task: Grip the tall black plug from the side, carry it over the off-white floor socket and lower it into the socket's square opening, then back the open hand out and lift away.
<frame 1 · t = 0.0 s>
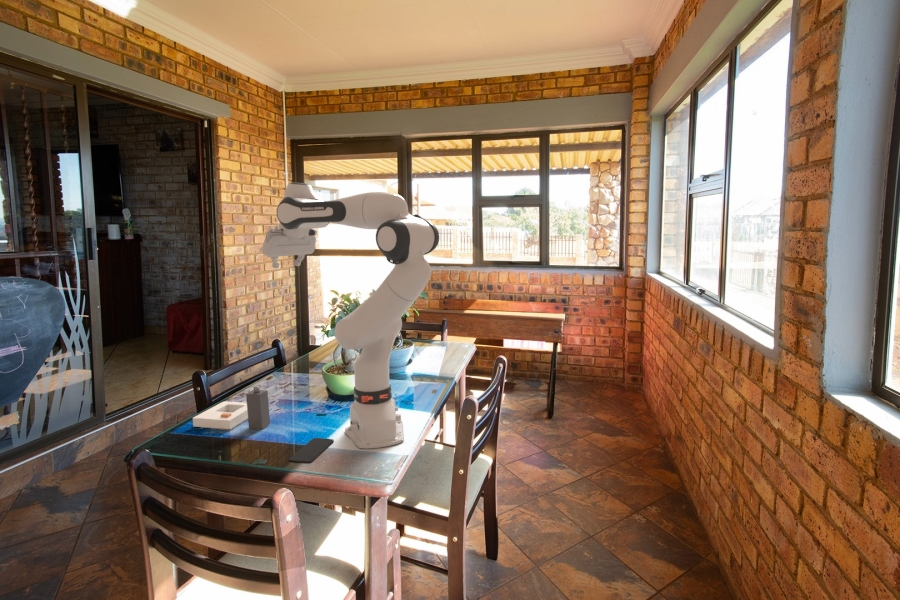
hand: (286, 266, 175), 52 cm above the table, tool tilted 20°, fingers open, 8 cm apart
phone: (312, 452, 148), on the table
beverage bottle: (368, 386, 207), on the table
plug: (259, 426, 167), on the table
socket: (227, 419, 173), on the table
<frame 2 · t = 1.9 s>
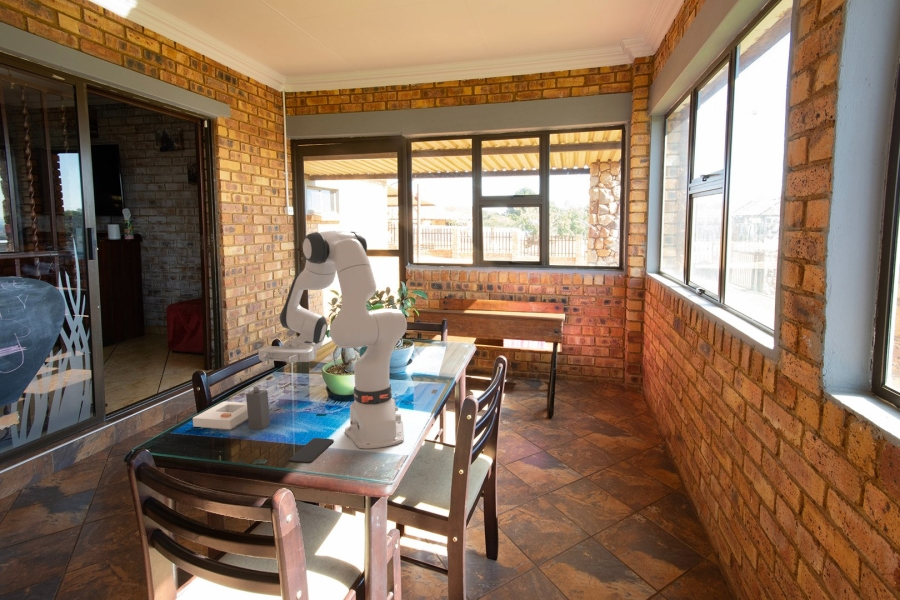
hand: (275, 359, 176), 20 cm above the table, tool horizontal, fingers open, 8 cm apart
nothing on the table moved.
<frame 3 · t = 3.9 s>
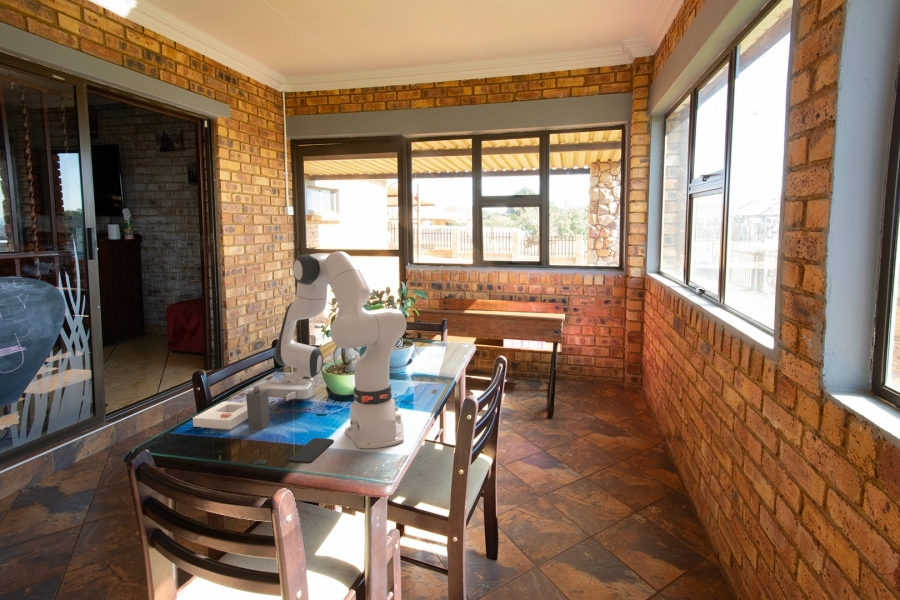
hand: (273, 397, 174), 7 cm above the table, tool horizontal, fingers open, 8 cm apart
nothing on the table moved.
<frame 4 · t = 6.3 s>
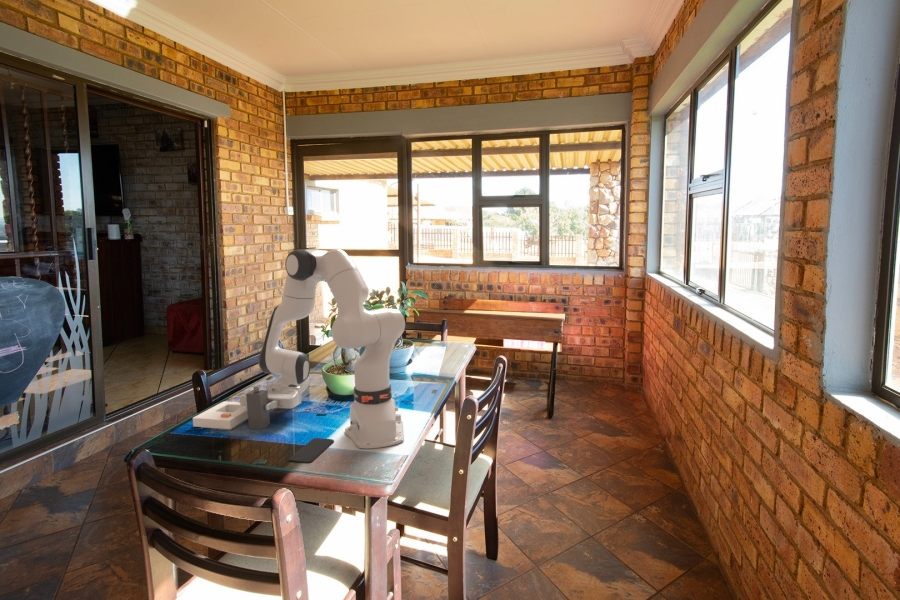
hand: (256, 407, 165), 7 cm above the table, tool horizontal, fingers closed on plug, 5 cm apart
plug: (259, 426, 167), on the table, touching gripper
everything else where it was.
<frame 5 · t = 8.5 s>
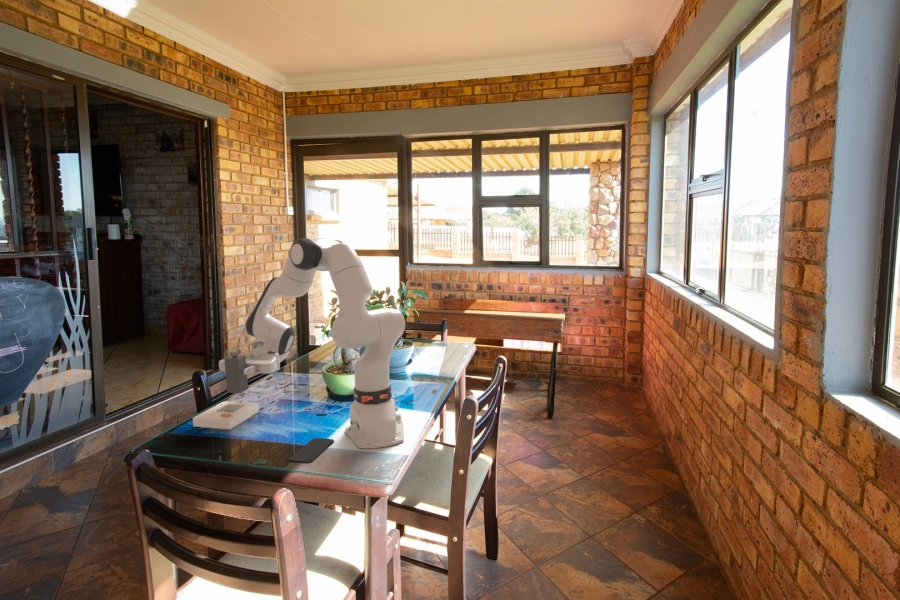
hand: (234, 371, 169), 18 cm above the table, tool horizontal, fingers closed on plug, 5 cm apart
plug: (237, 390, 171), point 11 cm above the table, touching gripper
everything else where it was.
when the fingers open (9 cm above the table, at t = 11.2 s): plug drops 1 cm, resting on socket.
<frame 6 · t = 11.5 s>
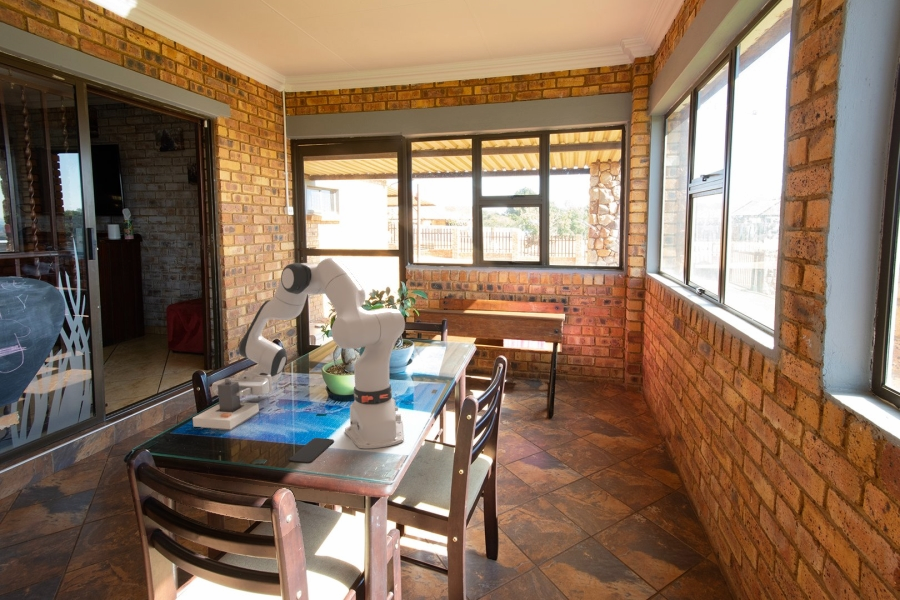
hand: (227, 394, 173), 9 cm above the table, tool horizontal, fingers open, 7 cm apart
plug: (231, 416, 175), resting on socket
everything else where it was.
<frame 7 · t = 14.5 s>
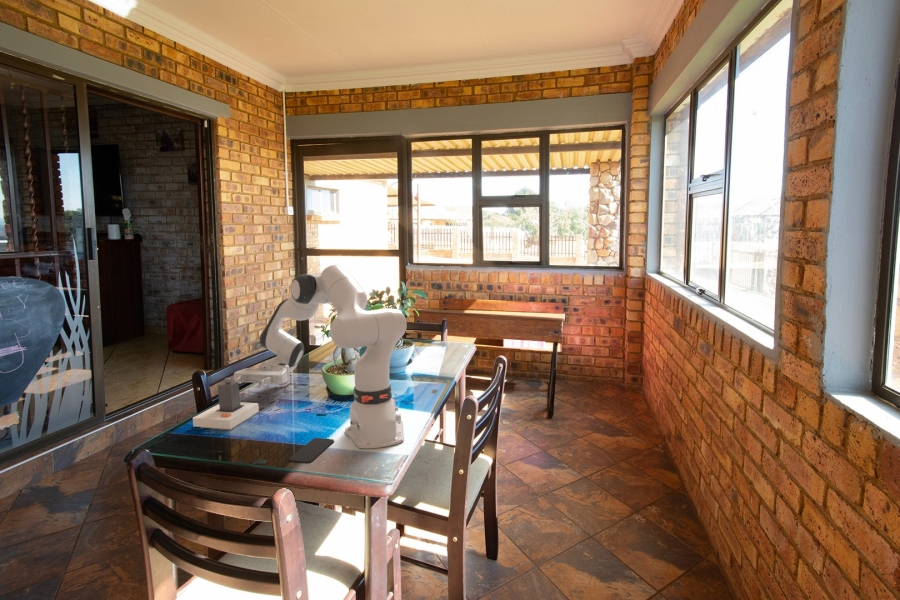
hand: (248, 382, 185), 9 cm above the table, tool horizontal, fingers open, 8 cm apart
nothing on the table moved.
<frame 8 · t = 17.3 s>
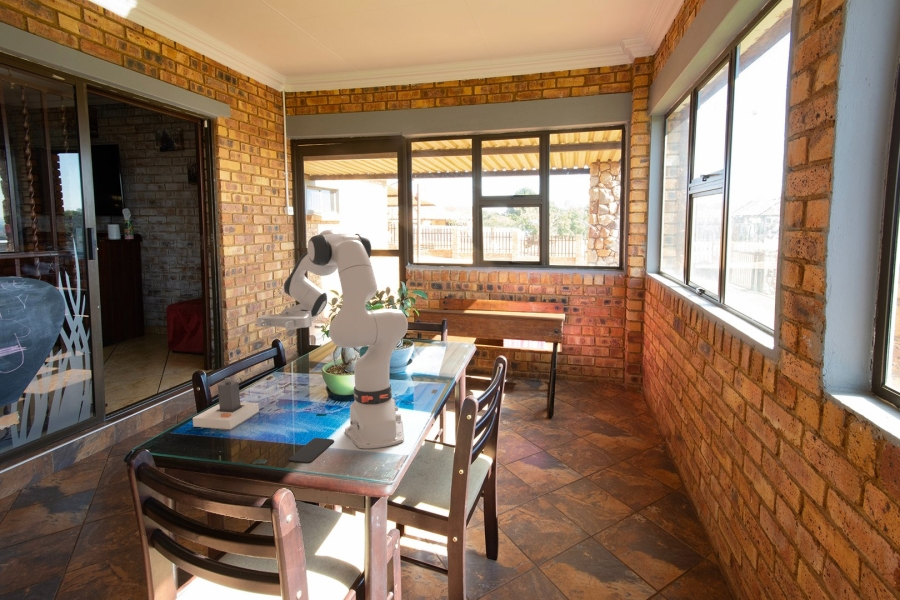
hand: (272, 325, 185), 30 cm above the table, tool horizontal, fingers open, 8 cm apart
nothing on the table moved.
at the end: plug 0.0 cm from the target spot on the socket, point 0.5 cm above the socket's base; plug tilted 0°; the gripper is holding nothing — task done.
